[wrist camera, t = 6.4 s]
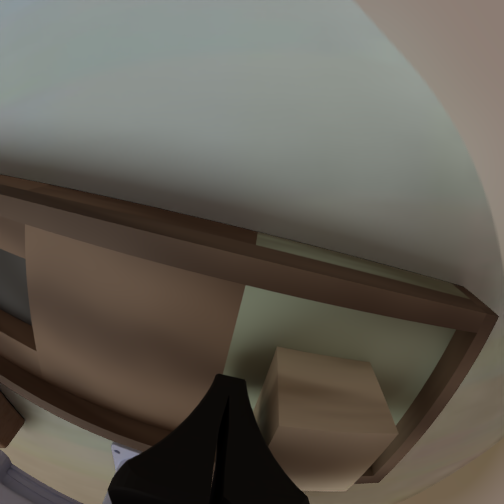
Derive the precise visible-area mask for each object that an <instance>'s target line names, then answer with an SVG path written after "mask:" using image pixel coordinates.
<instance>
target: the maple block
mask: <svg viewBox="0 0 504 504" xmlns="http://www.w3.org/2000/svg"><path fill="white" fill-rule="evenodd" d="M253 413H254V416H255V419H256V422H257V425H258V427H259V429H260V432H261V434H262V436H263V438H264V440H265V442H266V444H267V446H268V448H269V449H270V451H271V453H272V454H273V456H274V458H275V459H276V461H277V462H278V463H279V465H280V466H281V468H282V469H283V470H284V472H285V473H286V474H287V475H288V477H289V478H290V479H291V480H292V481H293V483H294V484H295V485H296V486H297V487H298V488H299V489H300V490H301V491H347V490H348V489H349V488H350V487H351V486H352V485H353V484H354V483H355V482H356V481H357V480H358V479H359V478H360V477H361V476H362V475H363V474H364V473H365V472H366V470H367V469H368V468H369V467H370V466H371V465H372V464H373V463H374V462H375V461H376V460H377V458H378V457H379V456H380V455H381V454H382V453H383V452H384V450H385V449H386V448H387V447H388V446H389V445H390V443H391V442H392V441H393V440H394V438H395V437H396V436H397V435H398V434H399V433H398V431H397V428H396V425H395V423H394V420H393V418H392V415H391V412H390V410H389V407H388V405H387V402H386V400H385V397H384V395H383V392H382V390H381V388H380V385H379V383H378V380H377V378H376V375H375V373H374V371H373V368H372V366H371V364H370V362H365V361H358V360H351V359H345V358H338V357H332V356H326V355H320V354H314V353H309V352H303V351H298V350H293V349H288V348H283V347H278V346H277V348H276V351H275V354H274V356H273V359H272V362H271V365H270V368H269V370H268V373H267V376H266V379H265V381H264V384H263V387H262V389H261V392H260V395H259V397H258V400H257V403H256V405H255V408H254V410H253Z"/></svg>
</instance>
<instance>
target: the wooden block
mask: <svg viewBox="0 0 504 504" xmlns="http://www.w3.org/2000/svg"><path fill="white" fill-rule="evenodd" d="M24 422H25V420H24V419H23V418H22V416H21V415H20V414H19V413H18V412H17V411H16V410H15V408H14V407H13V406H12V405H11V404H10V403H9V401H8V400H7V399H6V398H5V396H4V395H3V394H2V393H1V391H0V448H6V447H7V446H8V445H9V443H10V442H11V441H12V439H13V438H14V437H15V435H16V434H17V432H18V431H19V430H20V428H21V427H22V426H23V424H24Z"/></svg>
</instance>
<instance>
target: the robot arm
mask: <svg viewBox="0 0 504 504" xmlns="http://www.w3.org/2000/svg"><path fill="white" fill-rule="evenodd" d="M216 446H217V447H216ZM111 448H112V453H113V458H114V464H115V468H116V472H115V475H114V477H113V479H112V481H111V483H110V485H109V488H108V491H107V494H106V496H105V498H104V501H103V503H102V504H310V503H309V500H308V497H307V496H306V495H305V494H304V493H303V492H302V491H301V490H300V489H299V488H298V487H297V486H296V485H295V484H294V483H293V481H292V480H291V479H290V478H289V477H288V475H287V474H286V473H285V472H284V470H283V469H282V468H281V466H280V465H279V463H278V462H277V461H276V459H275V458H274V456H273V454H272V453H271V451H270V449H269V448H268V446H267V444H266V442H265V440H264V438H263V436H262V434H261V432H260V429H259V427H258V425H257V422H256V419H255V416H254V413H253V410H252V407H251V404H250V400H249V396H248V391H247V385H246V381H245V379H241V378H236V377H232V376H227V375H223V374H216V375H215V378H214V381H213V383H212V385H211V387H210V388H209V390H208V391H207V393H206V394H205V396H204V397H203V399H202V400H201V401H200V403H199V404H198V405H197V407H196V408H195V409H194V410H193V411H192V412H191V414H190V415H189V416H188V417H187V418H186V419H185V420H184V421H183V422H182V423H181V424H180V425H179V426H178V427H177V428H176V429H174V430H173V431H172V432H171V433H170V434H168V435H167V436H166V437H165V438H163V439H162V440H161V441H159V442H158V443H156V444H155V445H153V446H152V447H150V448H149V449H147V450H146V451H144V452H142V451H139V450H136V449H133V448H130V447H127V446H125V445H122V444H119V443H117V442H113V443H112V445H111ZM215 452H216V460H215V470H214V476H213V481H212V474H213V467H214V459H215ZM211 483H212V487H211ZM0 504H83V503H80V502H78V501H76V500H74V499H72V498H70V497H68V496H66V495H64V494H62V493H60V492H58V491H56V490H55V489H53V488H51V487H49V486H47V485H46V484H44V483H42V482H40V481H39V480H37V479H35V478H34V477H32V476H30V475H29V474H27V473H25V472H24V471H22V470H21V469H19V468H18V467H16V466H15V465H13V464H12V463H11V461H10V459H9V457H8V456H7V455H6V454H5V453H4V452H3V451H1V450H0Z"/></svg>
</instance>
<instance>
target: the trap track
mask: <svg viewBox="0 0 504 504" xmlns="http://www.w3.org/2000/svg"><path fill="white" fill-rule="evenodd" d="M498 317H499V316H498V315H497V314H496V313H494V312H493V311H492V310H491V309H490V308H489V307H487V306H486V305H485V304H484V303H483V302H482V301H480V300H479V299H478V298H477V297H476V296H474V295H473V294H472V293H471V292H469V291H468V290H467V289H466V288H464V287H463V286H459V285H456V284H452V283H449V282H445V281H442V280H438V279H435V278H431V277H427V276H424V275H420V274H417V273H413V272H409V271H406V270H402V269H399V268H395V267H391V266H387V265H384V264H380V263H376V262H373V261H369V260H365V259H361V258H358V257H354V256H350V255H346V254H343V253H339V252H335V251H331V250H327V249H323V248H319V247H316V246H312V245H308V244H304V243H300V242H296V241H292V240H288V239H284V238H280V237H276V236H272V235H268V234H264V233H260V232H256V231H252V230H248V229H244V228H240V227H236V226H232V225H227V224H223V223H219V222H215V221H211V220H207V219H202V218H198V217H194V216H190V215H185V214H181V213H177V212H173V211H168V210H164V209H160V208H155V207H151V206H146V205H142V204H138V203H133V202H129V201H124V200H120V199H115V198H111V197H106V196H101V195H97V194H92V193H88V192H83V191H78V190H74V189H69V188H64V187H59V186H54V185H50V184H45V183H40V182H35V181H30V180H25V179H20V178H15V177H10V176H5V175H0V383H2V384H3V385H5V386H6V387H8V388H9V389H11V390H13V391H14V392H16V393H17V394H19V395H21V396H22V397H24V398H26V399H27V400H29V401H31V402H32V403H34V404H36V405H38V406H39V407H41V408H43V409H45V410H47V411H49V412H51V413H52V414H54V415H56V416H58V417H60V418H62V419H64V420H66V421H68V422H70V423H72V424H75V425H77V426H79V427H81V428H83V429H85V430H88V431H90V432H92V433H94V434H97V435H99V436H102V437H104V438H107V439H109V440H112V441H114V442H117V443H119V444H122V445H125V446H127V447H130V448H133V449H136V450H139V451H142V452H144V451H146V450H147V449H149V448H150V447H152V446H153V445H155V444H156V443H158V442H159V441H161V440H162V439H163V438H165V437H166V436H167V435H168V434H170V433H171V432H172V431H173V430H174V429H176V428H177V427H178V426H179V425H180V424H181V423H182V422H183V421H184V420H185V419H186V418H187V417H188V416H189V415H190V414H191V412H192V411H193V410H194V409H195V408H196V407H197V405H198V404H199V403H200V401H201V400H202V399H203V397H204V396H205V394H206V393H207V391H208V390H209V388H210V387H211V385H212V383H213V381H214V378H215V375H216V374H223V375H227V376H232V377H236V378H241V379H245V381H246V385H247V391H248V396H249V400H250V404H251V407H252V410H254V408H255V405H256V403H257V400H258V397H259V395H260V392H261V389H262V387H263V384H264V381H265V379H266V376H267V373H268V370H269V368H270V365H271V362H272V359H273V356H274V354H275V351H276V348H277V346H278V347H283V348H288V349H293V350H298V351H303V352H309V353H314V354H320V355H326V356H332V357H338V358H345V359H351V360H358V361H365V362H370V364H371V366H372V368H373V371H374V373H375V375H376V378H377V380H378V383H379V385H380V388H381V390H382V392H383V395H384V397H385V400H386V402H387V405H388V407H389V410H390V412H391V415H392V418H393V420H394V423H395V425H396V428H397V431H398V433H399V434H398V435H397V436H396V437H395V438H394V440H393V441H392V442H391V443H390V445H389V446H388V447H387V448H386V449H385V450H384V452H383V453H382V454H381V455H380V456H379V457H378V458H377V460H376V461H375V462H374V463H373V464H372V465H371V466H370V467H369V468H368V469H367V470H366V472H365V473H364V474H363V475H362V476H361V477H360V478H359V479H358V480H357V481H356V482H355V483H354V484H360V483H379V482H380V481H381V480H382V479H383V478H384V477H385V476H386V475H387V474H388V473H389V472H390V471H391V470H392V469H393V468H394V467H395V466H396V465H397V464H398V462H399V461H400V460H401V459H402V458H403V457H404V456H405V455H406V454H407V453H408V452H409V450H410V449H411V448H412V447H413V446H414V445H415V444H416V442H417V441H418V440H419V439H420V438H421V437H422V435H423V434H424V433H425V432H426V430H427V429H428V428H429V427H430V426H431V424H432V423H433V422H434V420H435V419H436V418H437V417H438V415H439V414H440V413H441V411H442V410H443V409H444V407H445V406H446V404H447V403H448V402H449V400H450V399H451V397H452V396H453V394H454V393H455V392H456V390H457V389H458V387H459V386H460V384H461V383H462V381H463V380H464V378H465V376H466V375H467V373H468V372H469V370H470V368H471V367H472V365H473V364H474V362H475V360H476V358H477V357H478V355H479V353H480V352H481V350H482V348H483V346H484V344H485V343H486V341H487V339H488V337H489V335H490V333H491V331H492V329H493V327H494V325H495V323H496V321H497V319H498ZM216 447H217V446H216ZM215 460H216V452H215V459H214V467H213V471H214V470H215Z"/></svg>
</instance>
